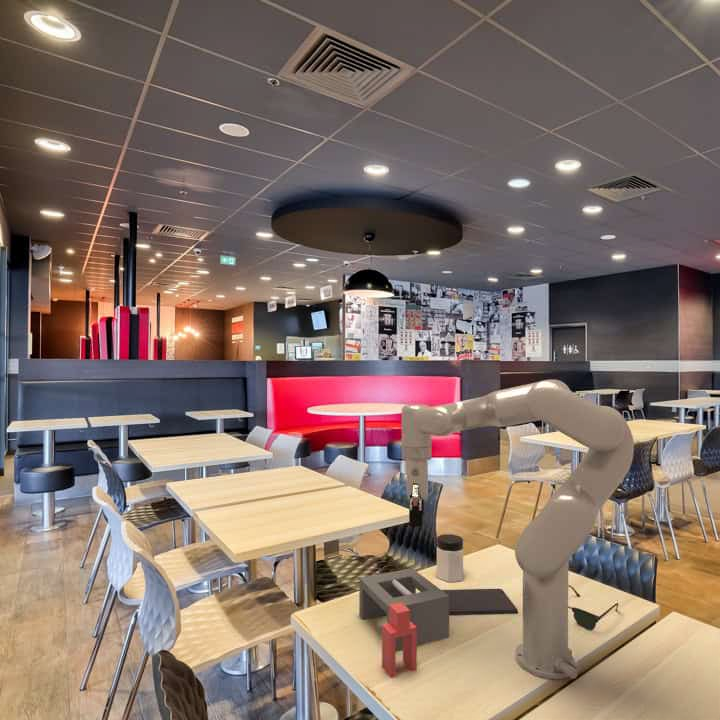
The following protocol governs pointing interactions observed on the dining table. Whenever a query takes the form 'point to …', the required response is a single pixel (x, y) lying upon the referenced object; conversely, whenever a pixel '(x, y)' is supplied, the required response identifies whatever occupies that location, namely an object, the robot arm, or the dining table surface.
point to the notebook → (479, 602)
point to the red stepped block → (391, 631)
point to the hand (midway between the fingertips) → (416, 520)
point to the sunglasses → (587, 616)
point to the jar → (450, 558)
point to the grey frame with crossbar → (407, 602)
